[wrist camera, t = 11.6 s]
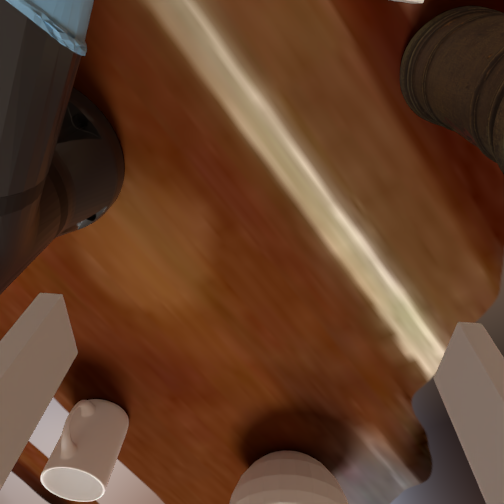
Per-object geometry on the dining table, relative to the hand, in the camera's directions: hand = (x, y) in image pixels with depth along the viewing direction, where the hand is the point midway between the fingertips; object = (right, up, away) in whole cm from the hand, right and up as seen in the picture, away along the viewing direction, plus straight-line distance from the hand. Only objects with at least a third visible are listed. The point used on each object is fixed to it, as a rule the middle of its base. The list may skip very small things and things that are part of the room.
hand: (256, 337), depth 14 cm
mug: (-24, -21, +48) cm, 57 cm away
